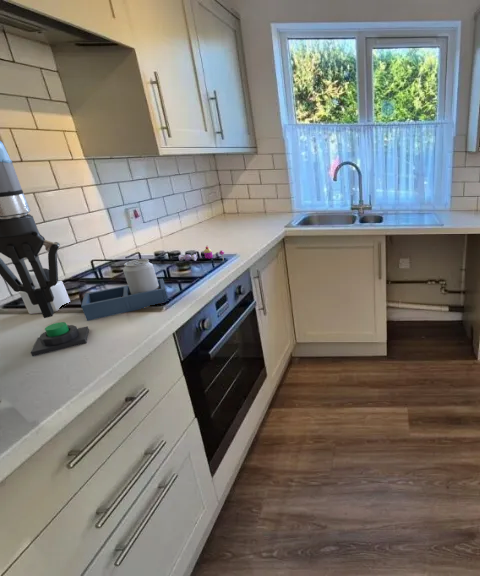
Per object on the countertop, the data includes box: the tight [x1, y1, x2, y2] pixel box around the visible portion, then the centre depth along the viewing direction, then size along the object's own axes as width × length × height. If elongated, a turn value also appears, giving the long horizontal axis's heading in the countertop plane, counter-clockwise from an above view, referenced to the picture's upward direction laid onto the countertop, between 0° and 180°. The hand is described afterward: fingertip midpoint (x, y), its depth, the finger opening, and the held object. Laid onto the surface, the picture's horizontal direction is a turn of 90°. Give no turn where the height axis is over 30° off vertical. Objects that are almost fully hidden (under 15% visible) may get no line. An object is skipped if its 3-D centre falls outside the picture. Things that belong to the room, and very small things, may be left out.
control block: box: [30, 324, 90, 357], centre depth 88 cm, size 10×8×3 cm
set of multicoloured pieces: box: [178, 246, 225, 262], centre depth 145 cm, size 18×8×6 cm, turn 98°
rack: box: [81, 278, 170, 322], centre depth 107 cm, size 20×10×5 cm, turn 123°
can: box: [122, 258, 160, 295], centre depth 108 cm, size 8×8×12 cm
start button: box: [44, 321, 69, 337], centre depth 87 cm, size 4×4×2 cm
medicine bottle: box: [18, 267, 71, 315], centre depth 105 cm, size 7×7×12 cm
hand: (49, 315), depth 86 cm, fingers closed
